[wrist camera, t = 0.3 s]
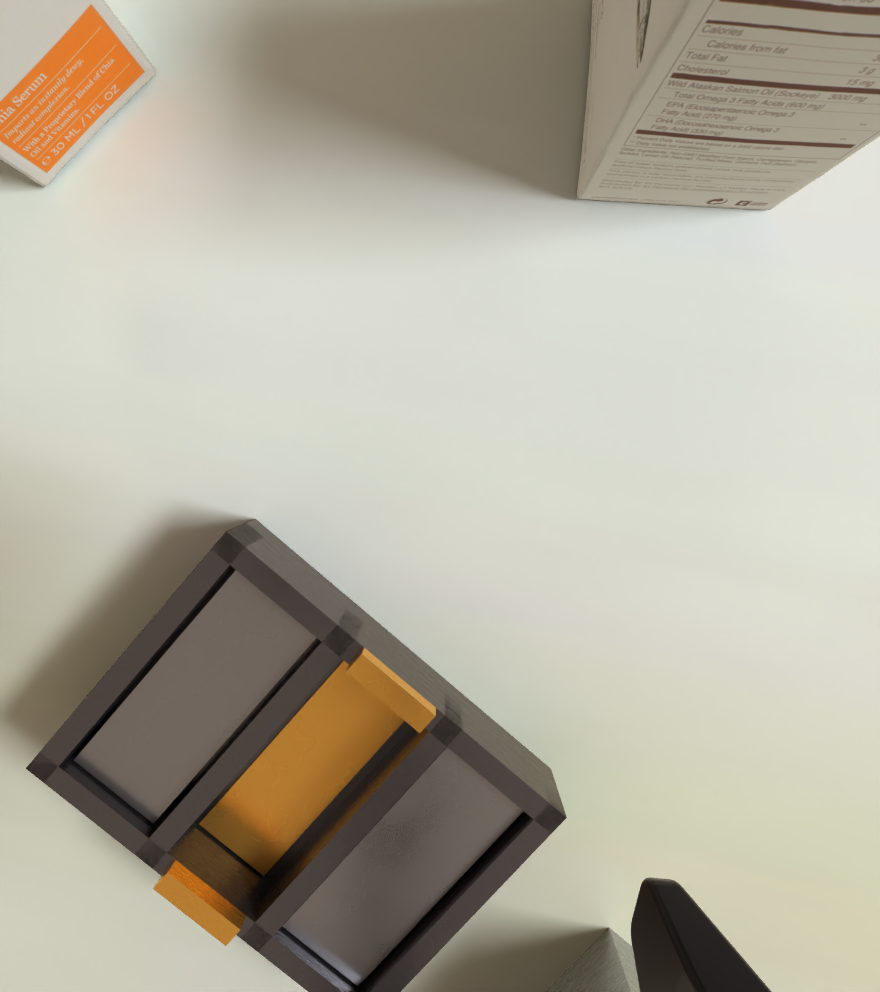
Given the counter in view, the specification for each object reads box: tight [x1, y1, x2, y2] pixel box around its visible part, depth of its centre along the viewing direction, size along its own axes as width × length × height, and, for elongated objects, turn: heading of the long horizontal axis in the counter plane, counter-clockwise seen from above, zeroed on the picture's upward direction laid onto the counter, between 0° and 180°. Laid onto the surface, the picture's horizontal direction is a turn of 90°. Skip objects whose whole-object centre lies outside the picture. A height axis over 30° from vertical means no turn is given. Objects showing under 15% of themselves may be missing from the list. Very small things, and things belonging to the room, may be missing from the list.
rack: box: [26, 519, 567, 992], centre depth 21 cm, size 11×15×4 cm
